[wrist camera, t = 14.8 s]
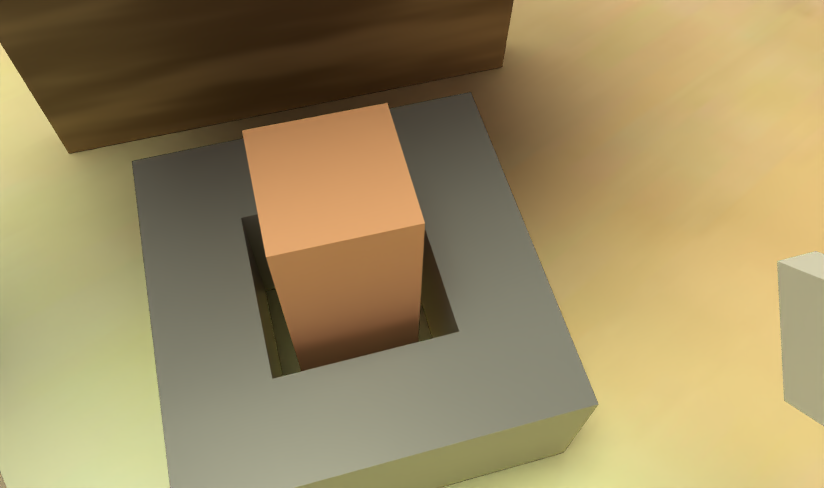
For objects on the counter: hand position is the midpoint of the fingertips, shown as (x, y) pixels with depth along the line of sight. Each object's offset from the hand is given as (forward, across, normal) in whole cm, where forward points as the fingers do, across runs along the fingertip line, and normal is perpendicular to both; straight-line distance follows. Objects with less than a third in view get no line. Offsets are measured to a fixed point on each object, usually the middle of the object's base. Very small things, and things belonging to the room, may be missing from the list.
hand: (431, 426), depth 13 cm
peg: (+19, 0, -6) cm, 20 cm away
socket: (+19, 0, -6) cm, 20 cm away
